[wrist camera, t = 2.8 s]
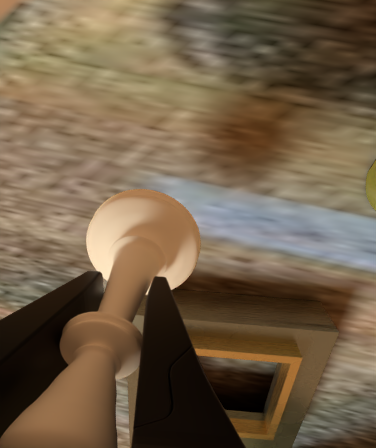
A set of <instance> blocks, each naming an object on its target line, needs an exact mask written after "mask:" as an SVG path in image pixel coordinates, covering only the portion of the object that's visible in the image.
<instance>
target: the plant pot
mask: <svg viewBox="0 0 376 448" xmlns="http://www.w3.org/2000/svg"><path fill="white" fill-rule="evenodd" d="M366 194H367V198H368V200H369V202H370V204H371V206H372V207H373V208H374V210H375V211H376V161H375V162H374V164H373V165H372V167H371V168H370V169H369V171H368V174H367V178H366Z"/></svg>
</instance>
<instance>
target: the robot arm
mask: <svg viewBox="0 0 376 448" xmlns="http://www.w3.org/2000/svg"><path fill="white" fill-rule="evenodd" d="M103 294H104V288H103V276H102V273H101V272H100V271H87V272H86V273H84V274H82V275H80V276H78V277H77V278H75V279H73V280H71V281H69V282H68V283H66V284H64V285H62V286H60V287H59V288H57V289H55V290H53V291H52V292H50V293H48V294H46V295H44V296H43V297H41V298H39V299H37V300H35V301H34V302H32V303H30V304H28V305H26V306H25V307H23V308H21V309H19V310H17V311H16V312H14V313H12V314H10V315H8V316H7V317H5V318H3V319H1V320H0V438H1V436H2V435H3V434H4V432H5V431H6V430H7V429H8V427H9V426H10V425H11V424H12V423H13V422H14V421H15V420H16V419H17V418H18V417H19V415H20V414H21V413H22V412H23V411H24V410H25V409H26V408H27V407H29V406H30V405H31V404H32V403H33V402H35V401H36V400H37V399H38V398H39V397H40V395H41V394H42V393H43V392H44V391H45V390H46V389H47V388H48V387H49V386H50V385H51V383H52V382H53V381H54V380H55V378H56V377H57V376H58V375H59V374H60V373H61V372H62V371H63V370H64V369H66V368H67V367H68V366H69V365H68V364H67V363H66V361H65V360H64V358H63V357H62V354H61V351H60V339H61V337H62V331H63V328H64V327H65V325H66V324H67V323H68V322H69V321H70V320H71V319H72V318H74V317H75V316H78V315H80V314H83V313H87V312H97V311H98V309H99V306H100V303H101V301H102V298H103ZM131 448H246V446H245V445H244V443H243V441H242V440H241V438H240V436H239V434H238V433H237V431H236V429H235V427H234V426H233V424H232V422H231V420H230V418H229V417H228V415H227V413H226V411H225V410H224V408H223V406H222V404H221V403H220V401H219V399H218V397H217V395H216V394H215V392H214V390H213V388H212V386H211V384H210V382H209V380H208V379H207V377H206V375H205V373H204V370H203V368H202V366H201V364H200V361H199V359H198V357H197V354H196V351H195V349H194V347H193V344H192V342H191V339H190V337H189V334H188V332H187V329H186V326H185V324H184V321H183V319H182V316H181V314H180V311H179V309H178V306H177V304H176V301H175V298H174V296H173V293H172V291H171V288H170V286H169V283H168V281H167V278H166V277H161V276H155V277H154V278H153V281H152V283H151V286H150V289H149V292H148V294H147V298H146V303H145V313H144V323H143V333H142V344H141V354H140V364H139V374H138V384H137V394H136V404H135V414H134V424H133V434H132V444H131Z"/></svg>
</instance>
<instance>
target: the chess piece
mask: <svg viewBox="0 0 376 448" xmlns="http://www.w3.org/2000/svg"><path fill="white" fill-rule="evenodd" d="M86 244H87V251H88V254H89V257H90V260H91V262H92V264H93V265H94V267H95V269H96V270H97V271H100V272H101V273H102V276H103V278H104V279H105V280H107V281H108V282H107V285H106V289H105V292H104V295H103V298H102V301H101V303H100V306H99V309H98V311H97V312H87V313H83V314H80V315H78V316H75V317H74V318H72V319H71V320H70V321H69V322H68V323H67V324H66V325H65V327H64V328H63V331H62V337H61V339H60V351H61V354H62V357H63V358H64V360H65V361H66V363H67V364H68V365H69V366H68V367H67V368H66V369H64V370H63V371H62V372H61V373H60V374H59V375H58V376H57V377H56V378H55V380H54V381H53V382H52V383H51V385H50V386H49V387H48V388H47V389H46V390H45V391H44V392H43V393H42V394H41V395H40V397H39V398H38V399H37V400H36V401H35V402H33V403H32V404H31V405H30V406H29V407H27V408H26V409H25V410H24V411H23V412H22V413H21V414H20V415H19V417H18V418H17V419H16V420H15V421H14V422H13V423H12V424H11V425H10V426H9V427H8V429H7V430H6V431H5V432H4V434H3V435H2V436H1V438H0V448H117V430H116V380H117V379H121V378H124V377H127V376H129V375H130V374H132V373H133V372H134V371H135V370H136V369H137V368H138V366H139V364H140V354H141V344H142V334H141V332H140V331H139V330H138V329H137V328H136V327H135V326H134V325H133V324H132V322H133V320H134V318H135V315H136V313H137V311H138V309H139V307H140V305H141V303H142V301H143V299H144V297H145V295H147V294H148V292H149V289H150V286H151V283H152V281H153V278H154V277H155V276H161V277H166V278H167V281H168V283H169V286H170V288H171V290H172V289H174V288H176V287H178V286H179V285H181V284H182V283H183V282H184V281H185V280H186V279H187V278H188V277H189V276H190V275H191V273H192V272H193V270H194V268H195V266H196V263H197V260H198V256H199V253H200V246H201V240H200V233H199V229H198V227H197V224H196V222H195V220H194V218H193V217H192V215H191V214H190V213H189V211H188V210H187V209H186V208H185V207H184V206H183V205H182V204H181V203H179V202H178V201H177V200H175V199H173V198H172V197H170V196H168V195H166V194H163V193H160V192H157V191H153V190H147V189H134V190H128V191H124V192H121V193H118V194H116V195H114V196H112V197H110V198H109V199H108V200H106V201H105V202H104V203H103V204H102V205H101V206H100V207H99V208H98V210H97V211H96V213H95V215H94V217H93V218H92V220H91V222H90V224H89V227H88V231H87V237H86Z"/></svg>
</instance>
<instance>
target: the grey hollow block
mask: <svg viewBox="0 0 376 448" xmlns="http://www.w3.org/2000/svg"><path fill="white" fill-rule="evenodd" d="M171 291H172V293H173V296H174V298H175V301H176V304H177V306H178V309H179V311H180V314H181V316H182V319H183V321H184V324H185V326H186V329H187V332H188V334H189V337H190V339H191V342H192V344H193V347H194V349H195V351H196V354H197V355H199V356H210V357H221V358H233V359H244V360H256V361H267V362H278V364H277V367H276V370H275V374H274V377H273V380H272V384H271V387H270V390H269V393H268V397H267V400H266V403H265V406H264V410H263V413H256V412H244V411H233V410H225V411H226V413H227V415H228V417H229V418H230V420H231V422H232V424H233V426H234V427H235V429H236V431H237V433H238V434H239V436H240V438H241V440H242V441H243V443H244V445H245V446H246V448H292V445H293V443H294V441H295V438H296V436H297V433H298V431H299V429H300V426H301V424H302V421H303V419H304V416H305V414H306V412H307V409H308V407H309V404H310V402H311V400H312V397H313V395H314V392H315V390H316V388H317V385H318V383H319V380H320V378H321V376H322V373H323V371H324V368H325V366H326V363H327V361H328V359H329V356H330V354H331V351H332V349H333V347H334V344H335V342H336V339H337V337H338V335H339V331H338V330H337V328H336V326H335V325H334V323H333V322H332V320H331V318H330V317H329V315H328V313H327V312H326V310H325V309H324V307H323V305H322V304H321V302H320V301H309V300H297V299H285V298H274V297H262V296H250V295H238V294H227V293H215V292H203V291H191V290H179V289H172V290H171ZM146 298H147V295H145V297H144V299H143V301H142V303H141V305H140V307H139V309H138V311H137V313H136V315H135V318H134V320H133V322H132V324H133V325H134V326H135V327H136V328H137V329H138V330H139V331H140V332H141V334H142V333H143V323H144V313H145V303H146ZM138 374H139V366H138V368H137V369H136V370H135V371H134V372H133V373H132V374H130V375H129V376H128V402H129V431H130V448H131V444H132V434H133V424H134V414H135V404H136V394H137V384H138Z"/></svg>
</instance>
